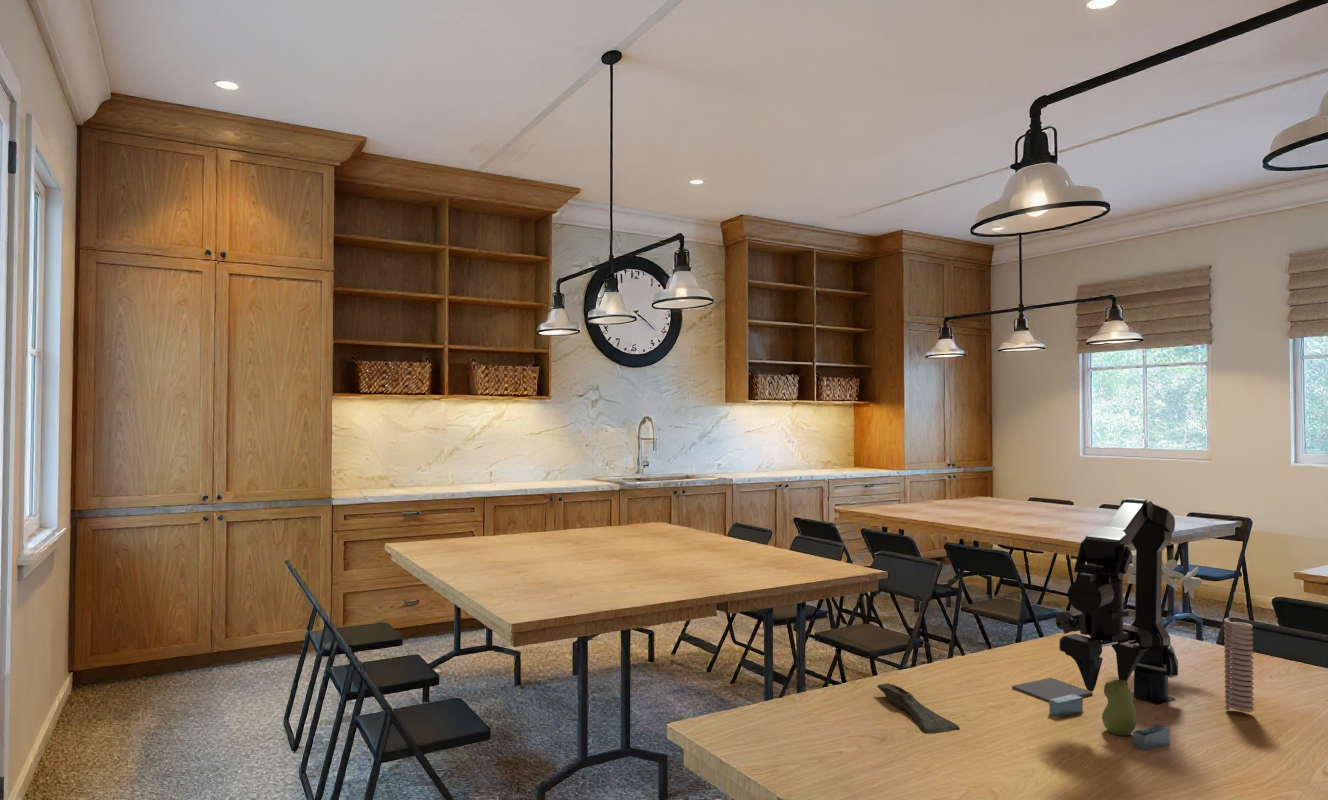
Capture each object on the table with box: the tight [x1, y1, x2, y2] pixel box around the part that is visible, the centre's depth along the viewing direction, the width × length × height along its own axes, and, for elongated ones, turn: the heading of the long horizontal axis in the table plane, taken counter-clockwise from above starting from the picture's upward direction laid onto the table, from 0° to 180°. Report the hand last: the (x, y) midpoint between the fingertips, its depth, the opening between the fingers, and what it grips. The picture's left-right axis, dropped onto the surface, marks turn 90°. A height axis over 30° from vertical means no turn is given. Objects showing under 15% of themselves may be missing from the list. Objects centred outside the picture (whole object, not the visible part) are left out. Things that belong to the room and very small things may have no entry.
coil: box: [1223, 617, 1255, 713], centre depth 156 cm, size 5×5×18 cm
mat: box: [1011, 677, 1094, 703], centre depth 167 cm, size 12×10×1 cm
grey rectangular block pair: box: [1048, 694, 1171, 752], centre depth 147 cm, size 7×19×3 cm, turn 25°
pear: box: [1101, 679, 1137, 737], centre depth 145 cm, size 6×5×10 cm
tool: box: [876, 683, 960, 735], centre depth 154 cm, size 21×8×3 cm, turn 18°
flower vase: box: [1124, 554, 1203, 654], centre depth 186 cm, size 13×18×25 cm
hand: (1106, 686), depth 147 cm, fingers open, 9 cm apart
